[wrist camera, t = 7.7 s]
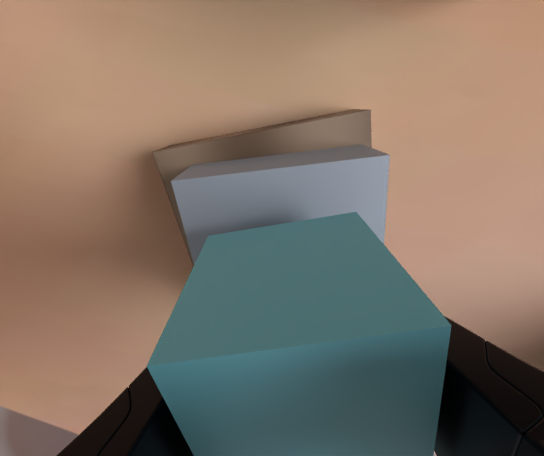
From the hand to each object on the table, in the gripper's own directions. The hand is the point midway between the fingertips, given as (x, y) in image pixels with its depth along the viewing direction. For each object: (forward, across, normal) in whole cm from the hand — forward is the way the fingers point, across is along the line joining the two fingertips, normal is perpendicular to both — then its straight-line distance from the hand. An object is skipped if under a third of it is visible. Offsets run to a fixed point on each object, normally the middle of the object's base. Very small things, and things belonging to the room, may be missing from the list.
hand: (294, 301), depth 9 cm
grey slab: (+6, 0, 0) cm, 6 cm away
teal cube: (+1, 0, 0) cm, 1 cm away
